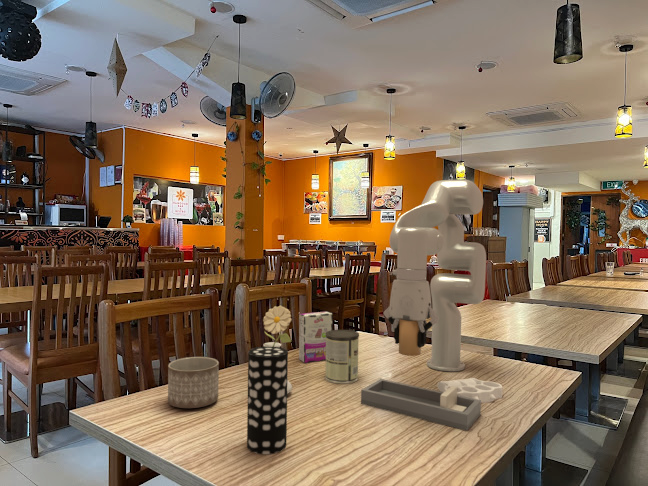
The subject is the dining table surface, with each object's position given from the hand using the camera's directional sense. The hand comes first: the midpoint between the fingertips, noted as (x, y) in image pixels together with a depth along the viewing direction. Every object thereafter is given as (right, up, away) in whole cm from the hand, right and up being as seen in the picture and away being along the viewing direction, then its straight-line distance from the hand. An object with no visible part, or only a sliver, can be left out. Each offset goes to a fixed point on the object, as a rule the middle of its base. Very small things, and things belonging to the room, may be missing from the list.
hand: (409, 343), depth 121 cm
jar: (0, -2, 0) cm, 2 cm away
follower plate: (+10, -16, -6) cm, 19 cm away
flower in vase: (-36, -16, +8) cm, 40 cm away
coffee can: (-17, -16, +22) cm, 32 cm away
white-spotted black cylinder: (-35, -17, -22) cm, 44 cm away
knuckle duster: (+19, -17, +10) cm, 27 cm away
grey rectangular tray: (+2, -17, -1) cm, 17 cm away
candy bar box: (-25, -15, +42) cm, 52 cm away
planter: (-57, -16, +1) cm, 59 cm away
